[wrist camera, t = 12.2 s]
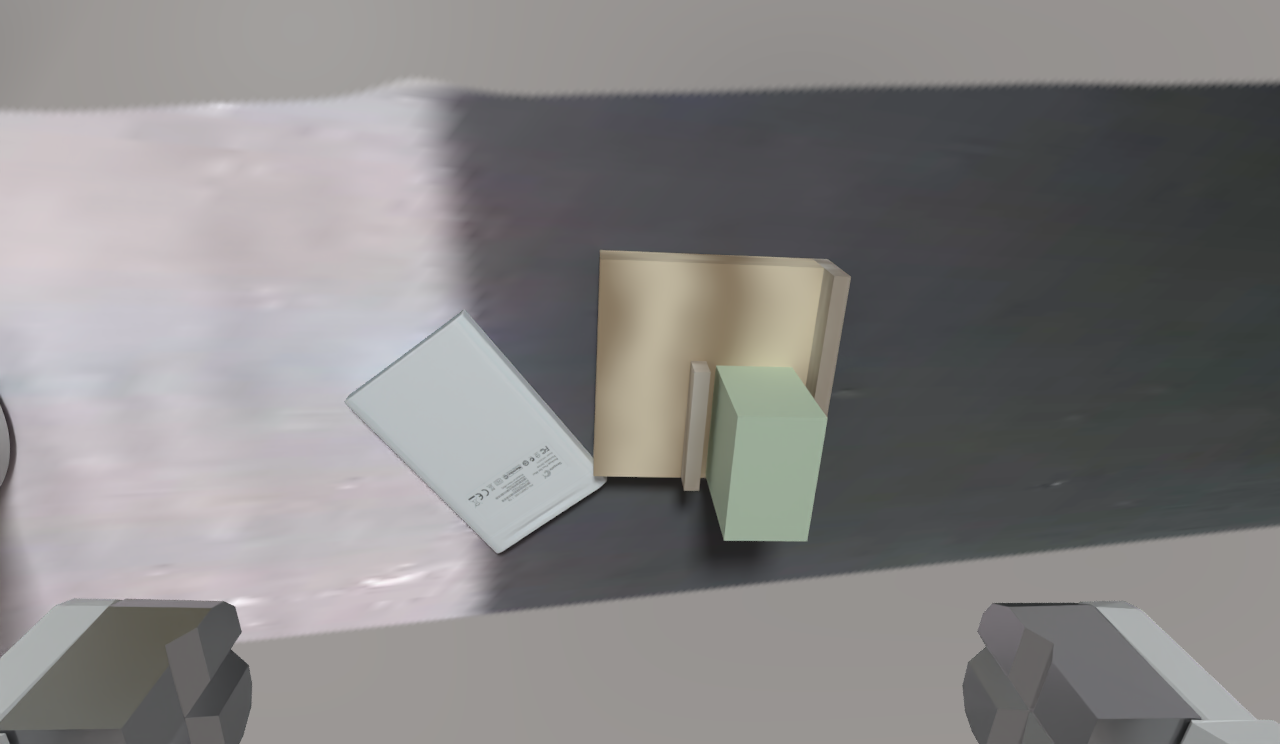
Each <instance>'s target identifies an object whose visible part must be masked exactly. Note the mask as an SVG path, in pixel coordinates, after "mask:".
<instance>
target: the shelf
mask: <svg viewBox="0 0 1280 744" xmlns="http://www.w3.org/2000/svg"><path fill="white" fill-rule="evenodd" d="M850 279H851V276H849V275H848V274H847V273H845V272H844V271H843V270H841V269H840V268H839V267H837V266H836V265H835V264H833V263H832V262H830V261H829V260H828V259H809V258H784V257H759V256H734V255H709V254H684V253H659V252H634V251H609V250H600V268H599V300H598V331H597V363H596V394H595V426H594V457H593V476H612V477H674V478H681V479H682V484H683V488H684V491H699V486H700V478H706V475H705V474H706V464H707V454H708V443H709V433H710V423H711V412H712V402H713V392H714V381H715V371H716V366H758V367H792V368H793V369H794V371H795V372H796V374H797V375H798V376H799V378H800V379H801V381H802V382H803V384H804V385H805V386H806V388H807V389H808V391H809V392H810V394H811V395H812V397H813V398H814V399H815V401H816V402H817V404H818V405H819V407H820V408H821V409H822V411H823V412H824V414H825V415H826V417H827V414H828V408H829V402H830V396H831V390H832V384H833V379H834V373H835V367H836V361H837V355H838V349H839V344H840V338H841V332H842V326H843V320H844V314H845V308H846V303H847V297H848V291H849V285H850Z"/></svg>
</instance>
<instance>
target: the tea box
mask: <svg viewBox="0 0 1280 744" xmlns="http://www.w3.org/2000/svg"><path fill="white" fill-rule="evenodd" d="M827 419H828V418H827V417H826V415H825V414H824V412H823V411H822V409H821V408H820V407H819V405H818V404H817V402H816V401H815V399H814V398H813V397H812V395H811V394H810V392H809V391H808V389H807V388H806V386H805V385H804V384H803V382H802V381H801V379H800V378H799V376H798V375H797V374H796V372H795V371H794V369H793V368H792V367H758V366H716V371H715V381H714V392H713V402H712V412H711V423H710V433H709V443H708V454H707V464H706V474H705V475H706V479H707V482H708V486H709V490H710V493H711V497H712V500H713V504H714V507H715V511H716V514H717V518H718V522H719V525H720V529H721V532H722V536H723V539H724V541H807V539H808V533H809V527H810V521H811V515H812V509H813V503H814V497H815V491H816V485H817V479H818V473H819V467H820V461H821V455H822V449H823V443H824V437H825V431H826V425H827Z"/></svg>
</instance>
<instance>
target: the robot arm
mask: <svg viewBox="0 0 1280 744" xmlns="http://www.w3.org/2000/svg"><path fill="white" fill-rule="evenodd" d="M9 458H10V440H9V432H8V427H7V423H6V420H5V416H4V414H3V411H2V408H1V406H0V486H1V485H2V483H3V481H4V478H5V476H6V473H7V469H8V465H9ZM241 632H242V631H241V627H240V624H239V620H238V616H237V612H236V608H235V606H233V605H231V604H228V603H226V602H224V601H194V600H154V599H124V600H116V599H77V598H74V599H72V600H69V601H66V602H64V603H61V604H58V605H56V606H55V607H54V608H52V609H51V610H50V611H49V612H48V613H47V614H46V615H45V616H44V617H43V618H42V619H41V620H40V621H39V622H38V623H37V624H36V625H35V626H33V627H32V628H31V629H30V630H29V631H28V632H27V633H26V634H25V635H24V636H23V637H22V638H21V639H20V640H19V641H18V642H17V643H16V644H14V645H13V646H12V647H11V648H10V649H9V650H8V651H7V652H6V653H5V654H4V655H3V656H2V657H1V658H0V744H239V743H240V741H241V739H242V737H243V735H244V731H245V727H246V724H247V720H248V716H249V713H250V709H251V699H252V681H251V675H250V670H249V665H248V664H247V663H246V662H244V661H243V660H242V659H241V658H240V657H239V656H238V655H236V654H235V653H234V652H233V651H232V650H231V648H232V646H233V645H234V643H235V641H236V640H237V638H238V637H239V635H240V634H241ZM978 633H979V635H980V637H981V639H982V640H983V642H984V644H985V646H986V647H985V648H984V649H983V650H982V651H980V652H979V653H978V654H977V655H976V656H975V657H974V658H973V659H971V660H970V661H969V662H968V665H967V669H966V673H965V678H964V682H963V696H964V706H965V712H966V716H967V718H968V721H969V724H970V727H971V730H972V732H973V734H974V736H975V738H976V740H977V741H978V743H979V744H1280V724H1279V723H1277V722H1275V721H1273V720H1257V719H1256V718H1255V717H1254V716H1253V715H1252V714H1251V713H1250V712H1249V711H1248V710H1247V709H1245V708H1244V707H1243V706H1242V705H1241V704H1240V703H1239V702H1238V701H1237V700H1236V699H1235V698H1234V697H1233V696H1232V695H1231V694H1230V693H1229V692H1227V690H1225V689H1224V688H1223V687H1222V686H1221V685H1220V684H1219V683H1218V682H1217V681H1216V680H1215V679H1214V678H1213V677H1212V676H1211V675H1210V674H1209V673H1208V672H1206V670H1204V669H1203V668H1202V667H1201V666H1200V665H1199V664H1198V663H1197V662H1196V661H1195V660H1194V659H1193V658H1192V657H1191V656H1190V655H1189V654H1188V653H1187V652H1186V651H1184V650H1183V649H1182V648H1181V647H1180V646H1179V645H1178V644H1177V643H1176V642H1175V641H1174V640H1173V639H1172V638H1171V637H1170V636H1169V635H1168V634H1167V633H1166V632H1165V631H1163V630H1162V629H1161V628H1160V627H1159V626H1158V625H1157V624H1156V623H1155V622H1154V621H1153V620H1152V619H1151V618H1150V617H1149V616H1148V615H1147V614H1146V613H1144V611H1143V610H1141V609H1140V608H1138V607H1135V606H1134V605H1132V604H1130V603H1128V602H1125V601H1099V602H1079V603H992V604H991V605H990V607H989V608H988V609H987V610H986V611H985V612H984V613H983V615H982V618H981V622H980V625H979V628H978Z"/></svg>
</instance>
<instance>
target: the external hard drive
mask: <svg viewBox="0 0 1280 744" xmlns="http://www.w3.org/2000/svg"><path fill="white" fill-rule="evenodd" d="M344 402H345V404H346V405H347V406H348V407H350V408H351V409H352V411H354V412H355V413H356V414H357V415H358V417H359V418H360V419H362V420H363V421H364V422H365V423H366V424H367V425H368V426H369V427H370V428H371V429H372V430H373V431H374V432H375V433H376V434H377V435H378V436H379V437H380V438H381V439H382V440H383V441H384V442H385V443H386V444H387V445H388V446H389V447H390V448H391V449H392V450H393V451H394V452H395V453H396V454H397V455H398V456H399V457H400V458H401V459H402V460H403V461H404V462H405V463H406V464H407V465H408V466H409V467H410V468H411V469H412V470H413V471H414V472H415V473H416V474H417V475H418V476H419V477H420V478H421V479H422V480H423V481H424V482H425V483H426V484H427V485H428V486H429V487H430V488H431V489H432V490H433V491H434V492H435V493H436V494H437V495H438V496H439V497H440V498H441V499H442V500H443V501H444V502H445V503H446V504H447V505H448V506H449V507H450V508H451V509H452V510H453V511H454V512H455V513H456V514H457V515H458V516H460V517H461V518H462V519H463V520H464V521H465V522H466V523H467V524H468V525H469V526H470V527H471V528H472V529H473V530H474V531H475V532H476V533H477V534H478V535H479V536H480V537H481V538H482V539H483V540H484V541H485V542H486V543H487V544H488V545H489V546H490V547H491V548H492V549H493V550H494V551H495V552H496V553H501V552H503V551H504V550H506V549H507V548H509V547H510V546H512V545H513V544H515V543H516V542H518V541H519V540H521V539H522V538H524V537H525V536H527V535H528V534H530V533H531V532H533V531H534V530H536V529H537V528H539V527H540V526H542V525H543V524H545V523H546V522H548V521H550V520H551V519H553V518H554V517H556V516H557V515H559V514H560V513H562V512H563V511H565V510H566V509H568V508H569V507H571V506H572V505H574V504H576V503H577V502H579V501H580V500H582V499H583V498H585V497H586V496H588V495H589V494H591V493H592V492H594V491H595V490H597V489H599V488H600V487H601V486H602V485H603V484H604V483H606V481H607V476H593V457H592V456H591V455H590V454H589V452H588V451H587V450H586V449H585V448H584V447H583V446H582V444H581V443H580V442H579V441H578V440H577V439H576V437H575V436H574V435H573V434H572V433H571V432H570V430H569V429H568V428H567V427H566V426H565V425H564V424H563V422H562V421H561V420H560V419H559V418H558V417H557V415H556V414H555V413H554V412H553V411H552V410H551V408H550V407H549V406H548V405H547V404H546V403H545V402H544V400H543V399H542V398H541V397H540V396H539V395H538V393H537V392H536V391H535V390H534V389H533V388H532V387H531V385H530V384H529V383H528V382H527V381H526V380H525V379H524V377H523V376H522V375H521V374H520V373H519V372H518V370H517V369H516V368H515V367H514V366H513V365H512V363H511V362H510V361H509V360H508V359H507V358H506V356H505V355H504V354H503V353H502V352H501V351H500V350H499V349H498V347H497V346H496V345H495V344H494V343H493V342H492V340H491V339H490V338H489V337H488V336H487V335H486V333H485V332H484V331H483V330H482V329H481V328H480V327H479V325H478V324H477V323H476V322H475V321H474V320H473V319H472V318H471V316H470V315H469V314H468V313H467V312H466V310H463V311H461V312H460V313H459V314H457V315H456V316H455V317H453V318H452V319H451V320H449V321H448V322H447V323H445V324H444V325H443V326H441V327H440V328H439V329H437V330H436V331H435V332H433V333H432V334H431V335H429V336H428V337H427V338H425V339H424V340H423V341H421V342H420V343H419V344H417V345H416V346H415V347H413V348H412V349H411V350H409V351H408V352H407V353H405V354H404V355H403V356H401V357H400V358H399V359H397V360H396V361H395V362H393V363H392V364H391V365H389V366H388V367H387V368H385V369H384V370H383V371H381V372H380V373H379V374H377V375H376V376H374V377H373V378H372V379H370V380H369V381H368V382H366V383H365V384H364V385H362V386H361V387H360V388H358V389H357V390H356V391H354V392H353V393H351V394H350V395H349V396H348V398H347V399H346V400H345V401H344Z"/></svg>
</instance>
